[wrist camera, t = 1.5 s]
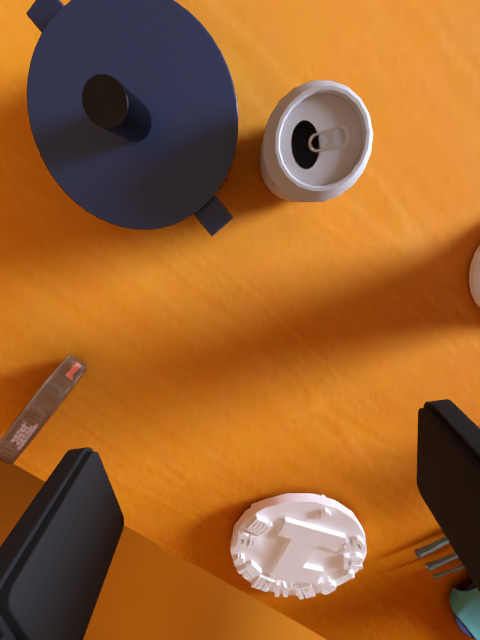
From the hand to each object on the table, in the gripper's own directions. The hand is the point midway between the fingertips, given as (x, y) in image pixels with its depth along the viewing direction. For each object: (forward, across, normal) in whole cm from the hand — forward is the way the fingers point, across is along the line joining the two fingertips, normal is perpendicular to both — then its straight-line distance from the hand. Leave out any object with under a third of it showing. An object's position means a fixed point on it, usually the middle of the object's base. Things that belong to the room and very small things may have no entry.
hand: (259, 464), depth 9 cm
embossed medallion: (+28, -1, +42) cm, 51 cm away
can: (+28, -6, -10) cm, 31 cm away
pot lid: (+21, +6, -14) cm, 26 cm away
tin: (+29, +26, +12) cm, 41 cm away
